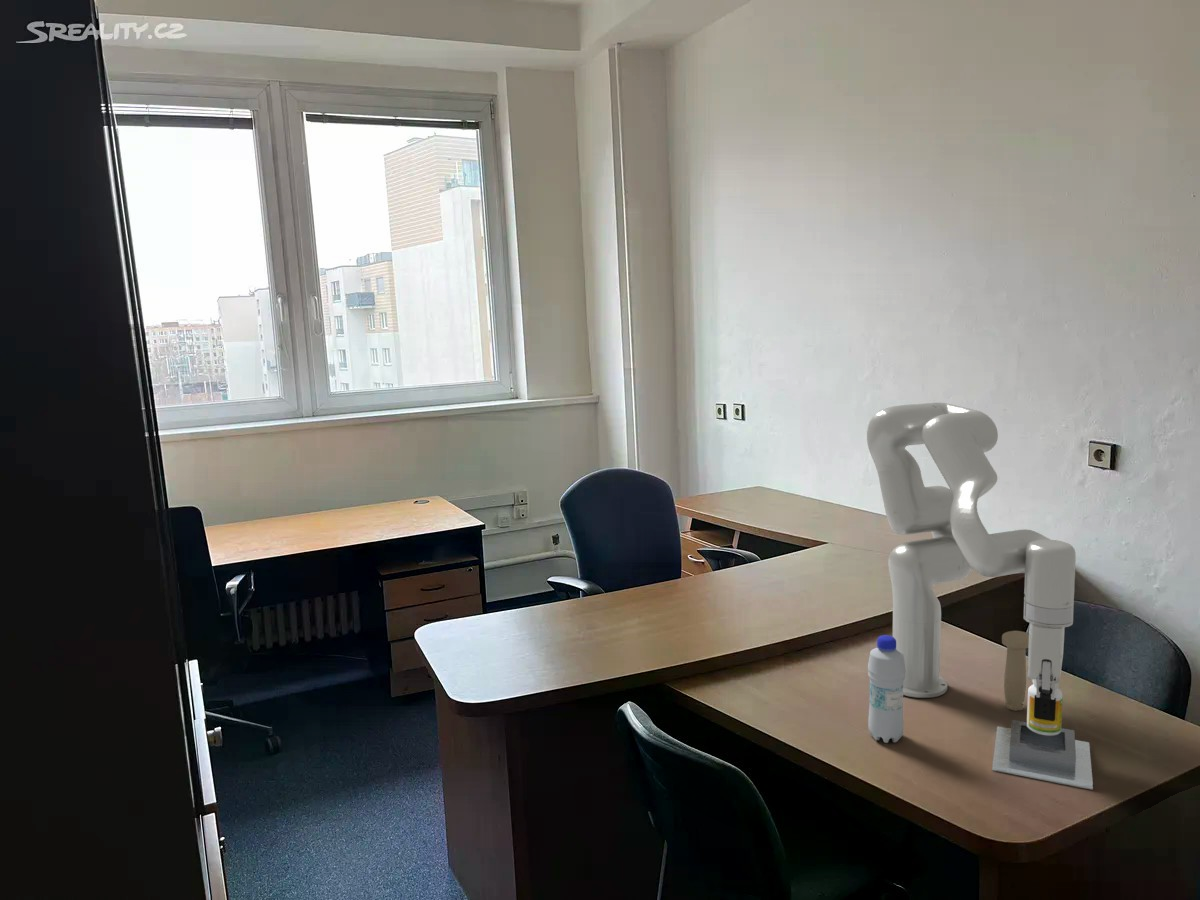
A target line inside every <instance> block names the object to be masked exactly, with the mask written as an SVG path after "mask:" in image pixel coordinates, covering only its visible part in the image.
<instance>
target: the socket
mask: <svg viewBox="0 0 1200 900" xmlns="http://www.w3.org/2000/svg"><path fill="white" fill-rule="evenodd" d="M1010 727H1011V728H1009V727H1004V726H998V725H997V726H996V735H995V742H994V750H993V751H994V752H993V759H992V769H991V770H992V771H993V772H1000V773H1005V774H1011V775H1015V776H1021V777H1026V778H1031V779H1037V780H1041V781H1046V782H1051V783H1056V784H1061V785H1067V786H1070V787H1075V788H1082V789H1085V790H1086V789H1087V790H1093V789H1094V787H1093V785H1094V782H1093V772H1092V771H1093V770H1092V759H1091V758H1092V757H1091V748H1090V742H1088V741H1084V740H1077V739H1076V737H1075V734H1076V733H1075V729H1069V728H1062V727H1061V732H1060V733H1059V734H1057V735H1053V736H1047V735H1041V734H1038V733H1035V732H1033V731H1031V730H1030V729H1029V728H1028V727H1027V721H1022V720H1021V721H1020V720H1015V719H1012V720H1011V726H1010Z"/></svg>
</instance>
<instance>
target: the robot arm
mask: <svg viewBox="0 0 1200 900" xmlns="http://www.w3.org/2000/svg"><path fill="white" fill-rule="evenodd" d="M998 437H999V435H998V429H997V426H996V423H995V422H994V421H993V419H992V418H991V417H990V416H989V415H987V413H984V412H982V411H981V410H977V409H973V408H968V407H963V406H960V405H955V404H951V403H946V402H927V403H917V404H916V403H915V404H903V405H895V406H894V405H893V406H889V407H886V408H882V409H881V410H879V411H877V412H875V414H874V415H873V416H872V417H871V419H870V421H869V423H868V425H867V431H866V442H867V446H868V447H867V448H868V451H869V453H870V457H871V459H872V461H873V463H874V466H875V468H876V471H877V472H876V473H877V477H878V480H879V486H880V490H881V491H880V492H881V496H882V500H883V505H884V510H885V516H886V519H887V520H886V521H887V523H888V526H889V527H890V529H891V531H892V532H894V533H896V534H898V535H902V536H903V535H906V536H908V535H909V536H910V535H919V534H924V533H925V534H926V533H931V535H932V537H931V538H925V539H918V540H911V541H906V542H904V543H901V544H899V545H897V546H896V547H894V548H893V550H892V551H890V553H889V556H888V560H887V561H888V563H887V565H888V571H889V578H890V581H891V590H892V637H894V638H895V640H896V649H897V650H899V651H901V652H902V653H903V655H904V662H905V669H906V672H905V679H904V681H903V696H906V697H911V698H916V699H917V698H919V699H927V698H936V697H940V696H942V695H944V694H945V693H946V692H947V691H948V682H947V681H946V679H945V678H943V676H941V675H940V673H941V639H942V638H941V636H942V634H941V630H942V607H941V602H940V600H939V599H938V597H937V595H936V594H935V592H934V590H933V587H934V586H937V585H942V584H946V583H952V582H957V581H961V580H963V579H966V578H967V577H968V576H969V575H970V574H971V572H972V569H973V571H974V572H975V573H977V574H978V575H980V576H983V577H986V578H999V577H1003V576H1008V575H1014V574H1024V592H1023V594H1024V595H1023V596H1024V597H1023V620H1024V621H1025V622H1027V623H1029V629H1028V633H1029V645H1028V648H1027V652H1028V653H1027V679H1028V680H1029V681H1033V679H1034V680H1036V678H1037V693H1036V695H1035V702H1034V717H1035V718H1037V719H1043V720H1049V721H1055V710H1056V698H1054V695H1055V683H1058V682H1060V679H1061V672H1062V666H1063V660H1064V659H1063V658H1064V646H1065V645H1064V644H1065V628H1068V627H1071V626H1073V624H1074V605H1075V602H1074V599H1075V587H1076V586H1075V582H1076V581H1075V579H1076V560H1077V559H1076V557H1077V555H1076V549H1075V548H1074V547H1073V545H1071V544H1070V543H1069V542H1065V541H1062V540H1057V539H1051V538H1049V537H1047V536H1045V535H1043V534H1041V533H1039V532H1037V531H1035V530H1031V529H1027V528H1026V529H1024V528H1023V529H1017V530H1010V531H1001V532H996V533H989V532H988V531H987V529H986V527H985V525H984V524H983V522H982V520H981V518H980V514H979V512H978V500H979V499H980V498H982V497H983V496H985V494H987V493H989V491H991V490H992V489H993V488H994V487H995V486H996V484H997V482H998V474H997V472H996V469H994V467H993V466H992V464H991V462H990V460H989V459H988V457H987V456H986V454H985V453H987V452H989V451H991V450H992V449H994V447H995V446H996V445H997V443H998V439H999V438H998ZM916 445H917V446H919V445H925V448H926V449H927V450H928V453H929V454H930V456H931V458H932V460H933V462H934V464H935V465H936V467H937V468H938V470H939V472H940V474H941V476H942V477H943V479H944V481H945V483H946V485H947V486H948V487H947V486H943V485H942V486H941V485H932V486H925V484H924V481H923V477H922V471H921V467H920V465H919V464H918V463H919V462H917V460H916V459H915V457H914V456H913V455H912V454H911V453H910V452H909V451H908V450H907V449H906V447H908V446H916ZM1039 674H1040V676H1042V679H1039ZM1052 675H1053V681H1052V680H1050V677H1052ZM1040 683H1042V686H1040ZM1050 684H1051V688H1050Z"/></svg>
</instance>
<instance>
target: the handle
mask: <svg viewBox="0 0 1200 900" xmlns="http://www.w3.org/2000/svg"><path fill="white" fill-rule="evenodd" d="M1001 644H1002V645H1003V646H1005V647H1006V657H1005V669H1004V679H1003V680H1004V681H1003V689H1004V691H1003V695H1004V701H1005V707H1006V709H1007V710H1012V711H1013V712H1014V711H1015V712H1017V711H1022V710H1023V708H1024V701H1025V697H1026V690H1027V689H1026V687H1027V665H1026V664H1027V661H1026V656H1027V654H1026V653H1027V650H1026V649H1028V645H1029V632H1026V631H1021V630H1011V631H1010V630H1009V631H1006V632H1004V633H1002V635H1001Z"/></svg>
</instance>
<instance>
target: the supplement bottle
mask: <svg viewBox="0 0 1200 900" xmlns="http://www.w3.org/2000/svg"><path fill="white" fill-rule="evenodd" d="M1039 679H1042V676H1040V674H1039ZM1050 680H1052V681H1053V675H1052V677H1050ZM1059 682H1060V681H1059ZM1059 682H1058V683H1055V695H1054V698H1056V710H1055V721H1049V720H1043V719H1037V718H1035V717H1034V702H1035V695H1036V693H1037V678H1036V680H1034V679H1032V684H1031V685H1030V686H1029V687H1028V689H1027V704H1026V706H1027V707H1026V708H1027V709H1026V722H1027V727H1028V728H1029V729H1030V730H1031V731H1033V732H1035V733H1038V734H1041V735H1047V736H1053V735H1057V734H1059V733H1060V732H1061V728H1062V725H1063V723H1062V722H1063V721H1062V720H1063V697H1064V696H1063V695H1064V694H1063V692H1062V690H1061V689H1060V688H1059ZM1040 686H1042V683H1040ZM1050 688H1051V684H1050Z"/></svg>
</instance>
